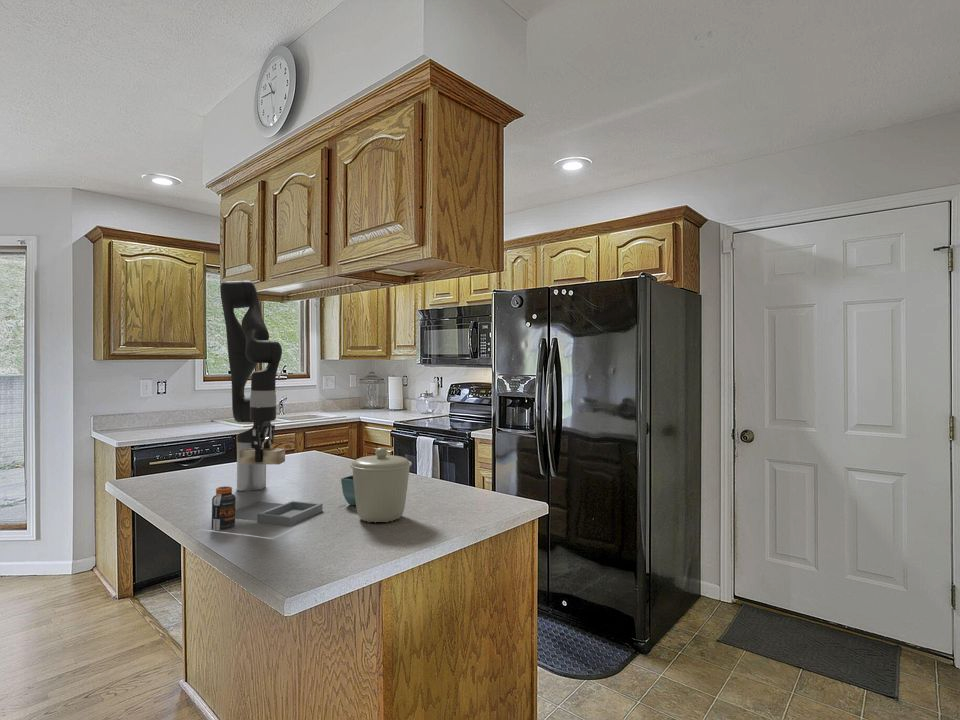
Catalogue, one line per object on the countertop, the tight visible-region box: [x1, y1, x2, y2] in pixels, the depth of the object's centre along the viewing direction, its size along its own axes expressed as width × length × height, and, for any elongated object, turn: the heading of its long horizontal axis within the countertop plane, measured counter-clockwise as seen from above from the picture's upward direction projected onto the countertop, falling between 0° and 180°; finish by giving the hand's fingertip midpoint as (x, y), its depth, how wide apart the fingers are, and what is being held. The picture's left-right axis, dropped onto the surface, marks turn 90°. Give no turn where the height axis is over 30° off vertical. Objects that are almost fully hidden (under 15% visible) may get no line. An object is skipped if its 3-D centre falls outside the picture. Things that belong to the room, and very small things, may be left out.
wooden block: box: [240, 448, 286, 465], centre depth 169 cm, size 12×5×4 cm, turn 90°
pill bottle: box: [211, 485, 236, 532], centre depth 153 cm, size 6×6×11 cm
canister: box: [349, 447, 413, 524], centre depth 164 cm, size 18×18×21 cm
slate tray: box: [256, 500, 323, 527], centre depth 164 cm, size 16×11×3 cm
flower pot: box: [340, 474, 356, 506], centre depth 179 cm, size 9×9×9 cm
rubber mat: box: [235, 500, 284, 522], centre depth 170 cm, size 18×14×1 cm
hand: (262, 460), depth 169 cm, fingers closed on wooden block, 5 cm apart
